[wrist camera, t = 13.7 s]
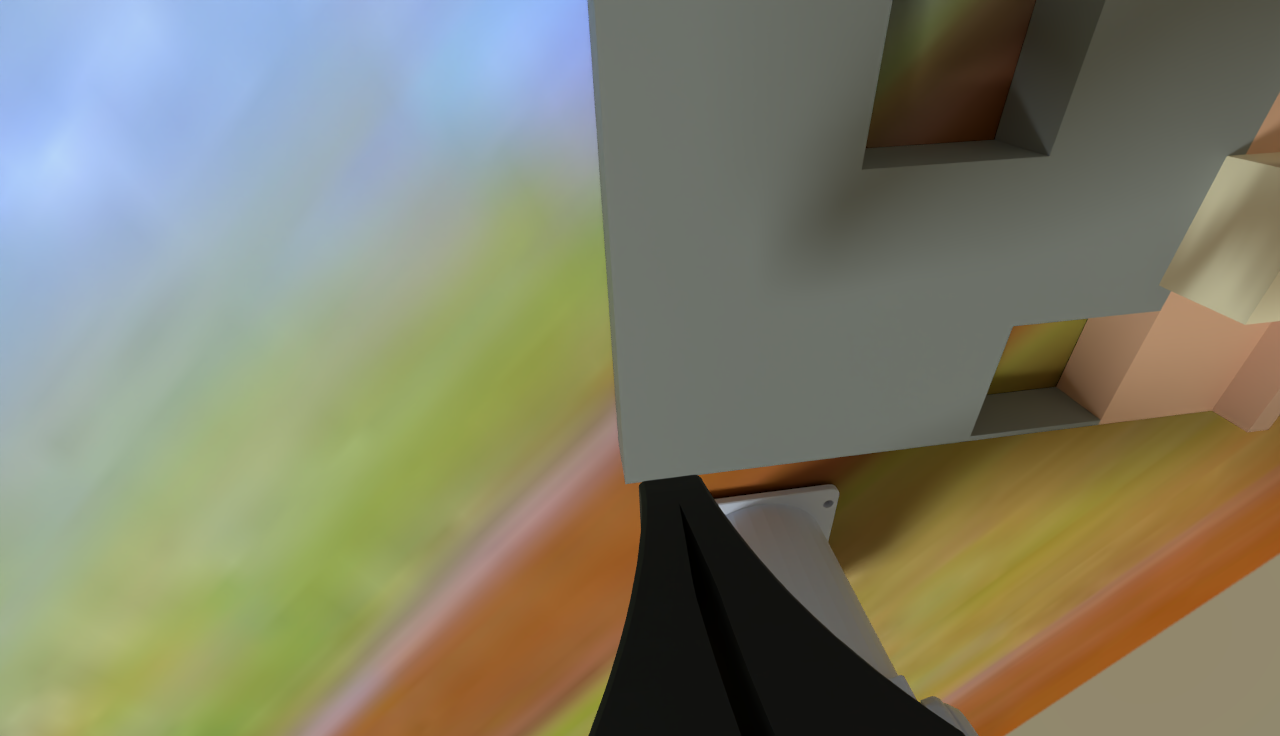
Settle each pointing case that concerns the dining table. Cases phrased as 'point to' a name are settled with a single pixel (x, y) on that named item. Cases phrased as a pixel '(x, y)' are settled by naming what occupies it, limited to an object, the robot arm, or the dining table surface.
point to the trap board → (913, 228)
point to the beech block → (1234, 243)
